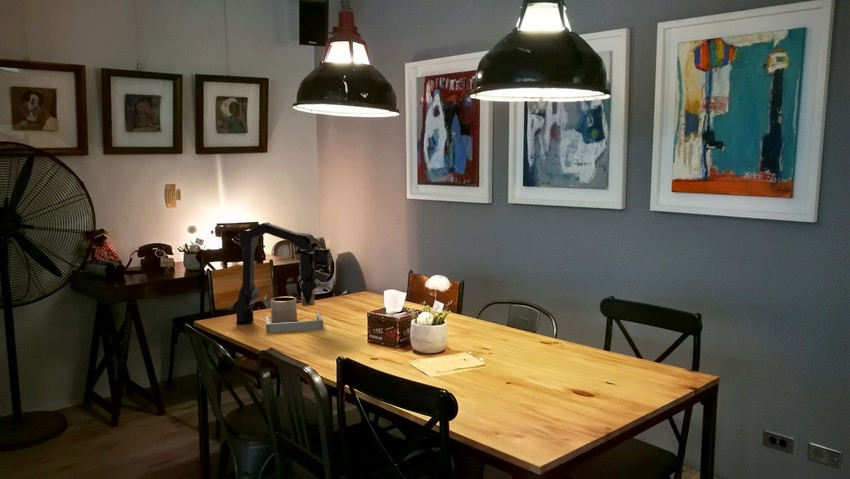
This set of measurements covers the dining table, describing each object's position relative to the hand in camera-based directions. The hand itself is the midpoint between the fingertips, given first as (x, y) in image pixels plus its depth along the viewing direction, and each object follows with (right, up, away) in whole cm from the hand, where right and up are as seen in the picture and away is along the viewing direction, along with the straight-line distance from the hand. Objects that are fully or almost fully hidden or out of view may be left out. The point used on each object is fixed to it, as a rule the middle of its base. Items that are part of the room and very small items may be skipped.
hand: (307, 302), depth 280 cm
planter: (-12, -9, +9) cm, 18 cm away
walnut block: (0, -1, 0) cm, 1 cm away
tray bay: (-5, -10, -1) cm, 12 cm away
